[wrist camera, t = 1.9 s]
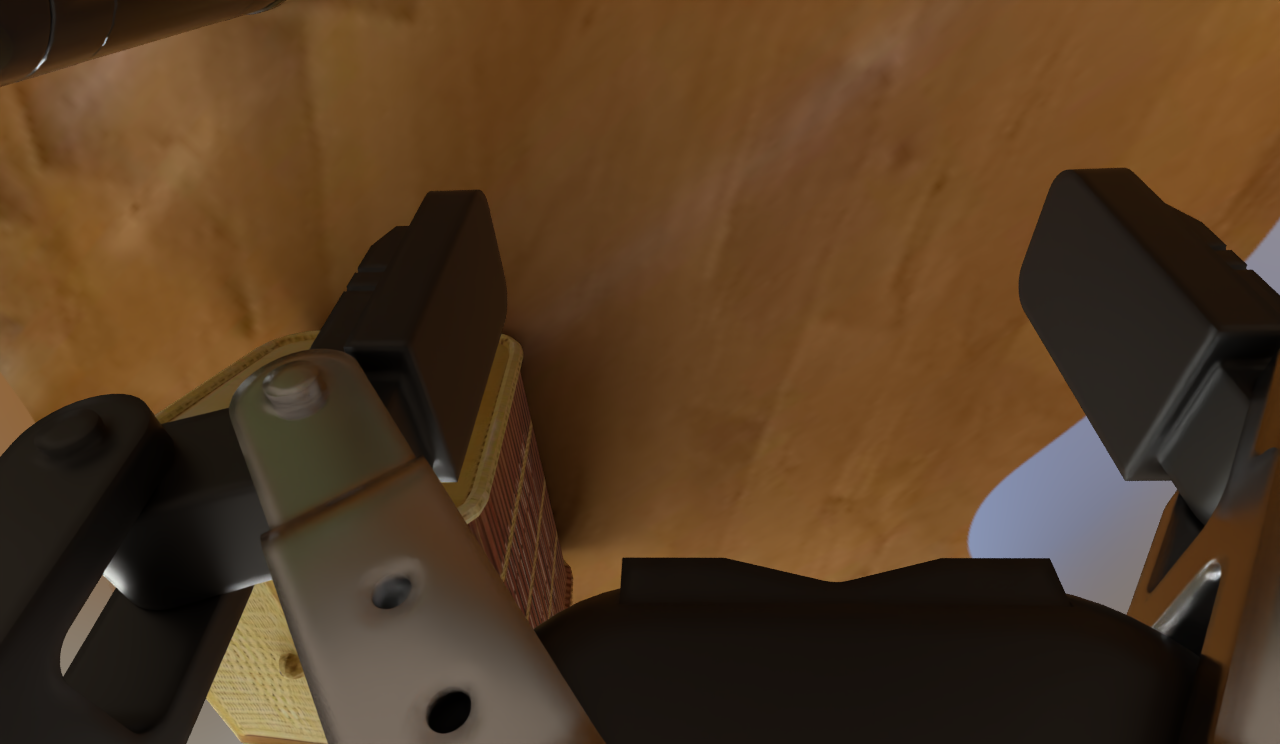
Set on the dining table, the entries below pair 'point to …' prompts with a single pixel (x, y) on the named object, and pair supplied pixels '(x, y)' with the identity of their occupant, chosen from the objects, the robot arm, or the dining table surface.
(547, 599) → the picnic basket
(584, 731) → the robot arm
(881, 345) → the dining table surface
